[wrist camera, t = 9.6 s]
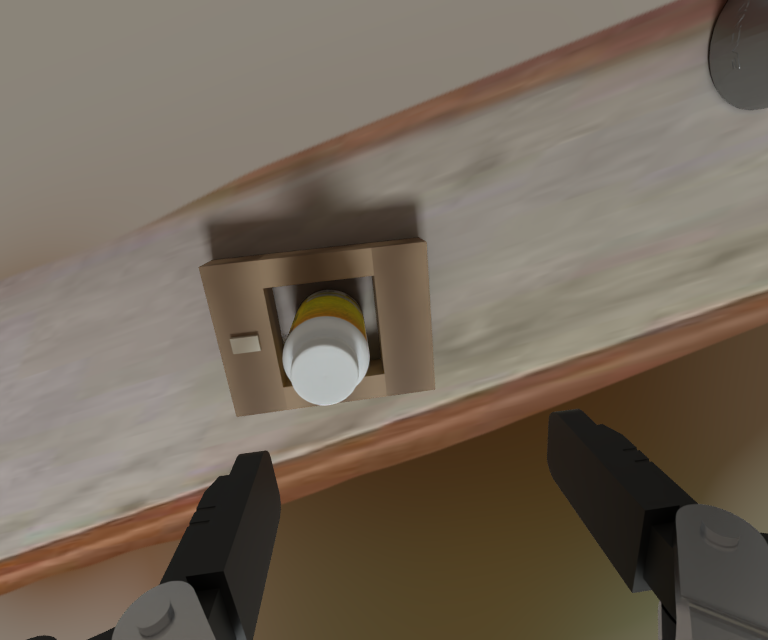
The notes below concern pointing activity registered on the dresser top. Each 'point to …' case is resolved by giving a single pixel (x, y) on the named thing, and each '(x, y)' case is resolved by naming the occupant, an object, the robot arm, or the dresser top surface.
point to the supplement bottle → (326, 348)
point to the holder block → (262, 272)
